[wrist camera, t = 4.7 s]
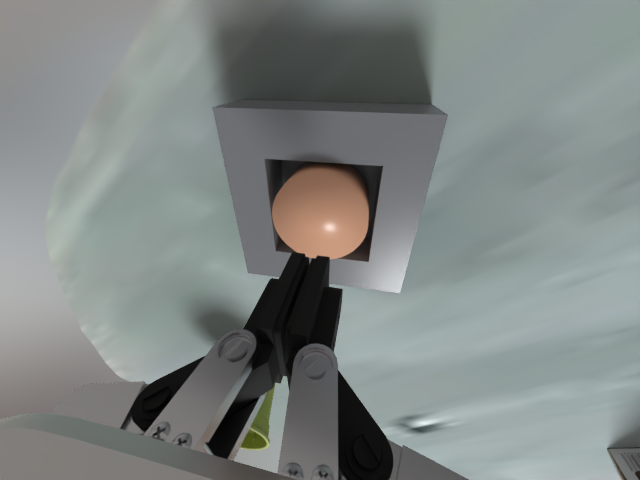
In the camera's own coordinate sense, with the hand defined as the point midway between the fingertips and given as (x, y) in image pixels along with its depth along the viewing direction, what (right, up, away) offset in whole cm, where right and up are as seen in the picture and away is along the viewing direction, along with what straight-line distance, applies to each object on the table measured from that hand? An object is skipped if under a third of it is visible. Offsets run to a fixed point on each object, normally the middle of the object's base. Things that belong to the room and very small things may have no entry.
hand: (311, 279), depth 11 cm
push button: (+1, +5, +6) cm, 8 cm away
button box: (+1, +6, +8) cm, 10 cm away
